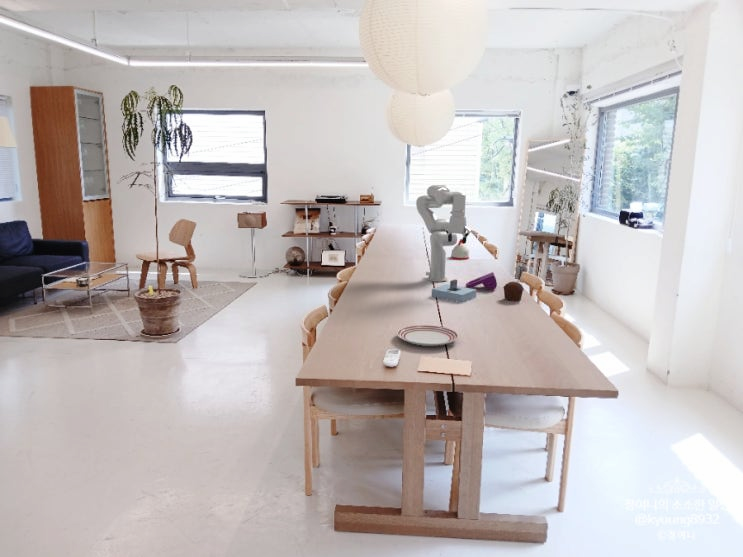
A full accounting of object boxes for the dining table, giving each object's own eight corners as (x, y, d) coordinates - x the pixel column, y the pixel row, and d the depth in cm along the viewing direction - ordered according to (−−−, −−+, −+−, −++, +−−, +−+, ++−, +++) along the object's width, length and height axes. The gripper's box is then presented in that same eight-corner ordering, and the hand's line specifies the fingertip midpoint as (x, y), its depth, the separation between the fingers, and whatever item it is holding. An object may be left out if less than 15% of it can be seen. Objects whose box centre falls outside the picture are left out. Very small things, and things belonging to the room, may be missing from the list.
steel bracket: (447, 297, 317) (448, 280, 315) (452, 295, 321) (453, 279, 318) (453, 298, 314) (454, 281, 312) (458, 297, 318) (459, 280, 316)
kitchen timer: (471, 257, 436) (472, 239, 432) (464, 260, 424) (465, 241, 421) (455, 255, 443) (456, 237, 439) (448, 258, 431) (449, 239, 428)
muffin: (512, 303, 307) (513, 285, 305) (498, 298, 316) (499, 281, 314) (527, 300, 314) (528, 283, 311) (512, 295, 323) (514, 279, 320)
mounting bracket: (470, 298, 338) (498, 287, 333) (465, 286, 337) (493, 275, 332) (471, 294, 347) (498, 284, 342) (465, 282, 346) (493, 271, 341)
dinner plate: (397, 329, 260) (397, 322, 260) (456, 331, 258) (456, 324, 257) (395, 349, 234) (395, 342, 233) (460, 352, 232) (460, 344, 231)
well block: (431, 296, 318) (431, 288, 317) (446, 291, 330) (446, 284, 329) (462, 302, 306) (462, 294, 305) (475, 297, 318) (476, 289, 317)
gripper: (442, 213, 330) (441, 241, 334) (468, 215, 320) (466, 245, 323) (449, 212, 336) (447, 240, 340) (474, 214, 325) (472, 243, 329)
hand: (456, 242), depth 332 cm, fingers open, 9 cm apart
